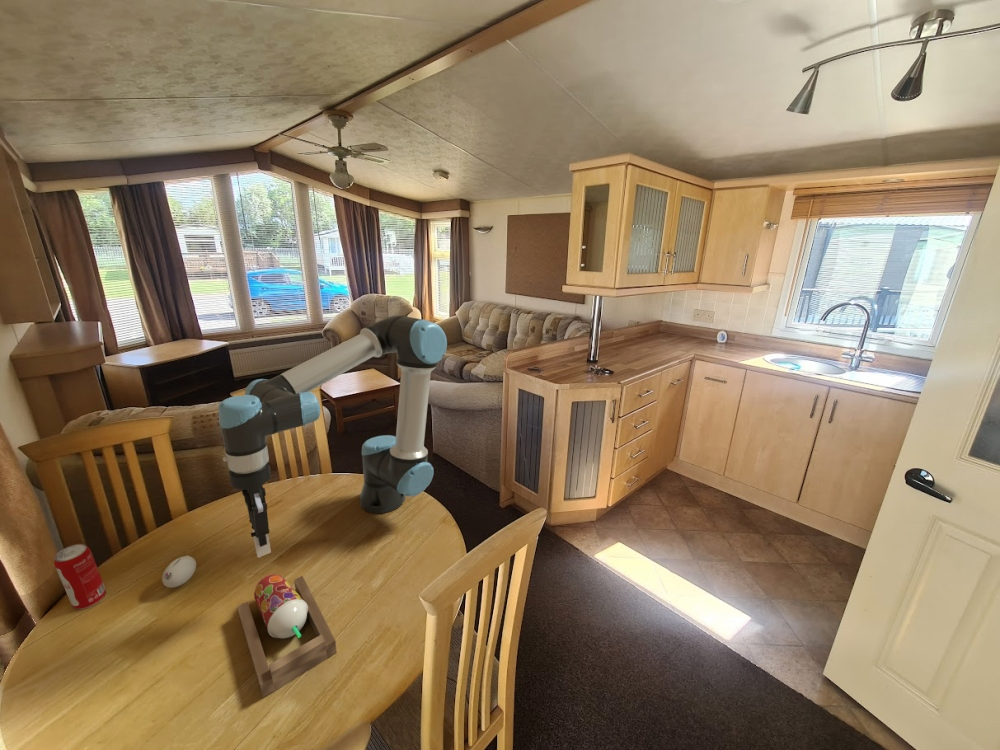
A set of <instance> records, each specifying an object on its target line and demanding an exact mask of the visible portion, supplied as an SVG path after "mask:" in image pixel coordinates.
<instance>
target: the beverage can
mask: <svg viewBox="0 0 1000 750" xmlns="http://www.w3.org/2000/svg"><path fill="white" fill-rule="evenodd" d="M96 563H97V562H96V561H95V558H94V555H93V553H92V551H91V549H90V547H89V546H87V545H86V543H85V544H84V543H77V544H73V545H70V546H67V547H65V548H63V549H62V550H60V551H58V552H57V553H56V554H55V555H54V562H53V564H54V567H55V570H56V572H57V573H58V574H57V575H58V577H59V579H60V581H61V583H62V585H63V588H64V589H65V590H64V591H65V592H66V594H67V597H68V599H69V602H70V603H71V607H72V608H73V609H75V610H84V609H89V608H90V607H93V606H95V605H96V604H99V602H101V601H102V600H103V598H104V597H105V596H106V595H107V589H106V586H105V584H104V581H103V578H102V576H101V574H100V570H99V569H98V566H97V564H96Z"/></svg>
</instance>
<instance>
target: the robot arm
mask: <svg viewBox="0 0 1000 750" xmlns="http://www.w3.org/2000/svg"><path fill="white" fill-rule="evenodd" d="M447 341H448V339H447V336H446V333H445V332H444V330H443V329H442V327H441V326H440V325H438V324H437V323H435V322H431V321H430V320H427V319H421V318H416V317H411V316H407V315H403V314H401V315H392V316H389V317H386V318H383V319H381V320H379V321H376V322H374V323H372V324H369V325H368V326H366V327H364V328H362V329H360V332H359V334H358V335H355V336H353V337H352V338H349V339H348V340H346V341H344V342H341V343H339V344H337V345H336V346H334V347H332V348H330V349H328V350H325V351H323V352H322V353H320V354H317V355H316V356H314V357H312V358H310V359H308V360H306V361H304V362H303V363H300V364H297V365H296V366H294V367H292V368H291V369H288V370H286V371H284V372H282V373H281V374H278V375H277V376H274V377H273V378H272V377H271V378H270V379H265V378H260V379H255V380H252V381H251V382H250V383H249V384H248V385H247V386H246V388H245V391H244V395H234V396H231V397H228V398H225V399H223V400H222V401H221V402H220V403H219V405H218V410H217V412H218V421H219V422H218V424H219V426H220V427H219V428H220V431H221V435H222V440H223V445H224V450H225V456H224V457H223V458H222V460H223V462H227V467H228V469H229V472H228V475H229V479H230V484H231V486H232V488H233V489H235V490H241V494H242V496H243V498H244V504H245V505H246V508H247V513H248V518H249V523H250V524H251V529H252V532H251V533H250V536H251V538H253V541H254V546H255V553H256V556H257V558H258V559H259V558H261V557H263V556H265V555H268V554H270V553H272V550H271V544H270V538H269V534H270V527H269V517H268V503H267V501H266V496H267V493H266V489H265V487H263V486H264V484H267V482H268V481H270V480H271V477H272V474H271V473H272V472H271V467H270V461H269V460H270V458H269V450H268V444H267V441H266V440H267V438H266V437H269V436H272V435H275V434H278V433H281V432H285V431H288V430H289V431H290V430H291V429H296V428H299V427H302V426H303V427H305V426H306V425H308V424H311V423H314V422H316V421H317V420H319V419H320V417H321V406H320V402H319V400H318V397H317V395H316V394H315V393H314V392H312V391H313V390H316V389H317V388H319V387H321V386H323V385H324V384H327V383H328V382H330V381H331V380H333V379H335V378H337V377H339V376H341V375H342V374H344V373H346V372H348V371H350V370H351V369H354V368H355V367H357V366H359V365H360V364H362V363H365V362H366V361H368V360H369V359H371V358H373V357H374V358H380V357H383V356H384V355H386V354H392V353H395V354H397V355H396V365H397V366H398V367H399V369H400V381H399V383H400V384H399V393H398V394H399V395H398V407H397V419H396V420H397V421H396V422H397V423H396V430H395V431H396V433H395V435H389V434H387V435H386V434H385V435H378V436H374V437H371V438H369V439H367V440H365V441H364V442H363V444H362V447H361V458H362V459H361V460H362V471H363V485H362V489H361V491H360V495H359V505H360V507H361V508H362V510H364V511H366V512H367V513H371V514H385V513H390V512H392V511H395V510H397V509H398V508H400V507H401V506H402V505H403V504H404V503H405V501H406V497H408V498H410V497H416V496H418V495H420V494H422V493H423V492H424V491H425V490H426V489H427V487H429V485H430V483H431V482H432V481H433V477H434V471H435V470H434V467H433V465H432V464H431V463H430V462H429V461H428V454H429V451H428V449H427V448H426V447H425V446H424V445H425V436H426V435H425V434H426V425H427V413H428V405H429V404H428V403H429V393H430V384H431V376H432V375H431V372H433V371H434V370H435V369H437V365H438V364H437V363H439V362H440V361H442V359H443V356H445V355H446V353H447V347H448V342H447ZM403 502H404V503H403ZM402 503H403V504H402ZM401 504H402V505H401ZM400 505H401V506H400ZM399 506H400V507H399ZM396 508H397V509H396ZM394 509H395V510H394Z"/></svg>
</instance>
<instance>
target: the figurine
mask: <svg viewBox="0 0 1000 750" xmlns="http://www.w3.org/2000/svg"><path fill="white" fill-rule="evenodd" d="M196 569H197V562H196V560H195V558H194V557H193V556H189V555H188V554H186V555H185V556H180V557H178V558H176V559H174V560H173V561H172V562H171V563H169V564H168V565H167V567H165V568H164V571H163V572H162V576H161V581H162V584H163V586H165V587H167V588H177V587H181V586H182V585H184V584H185V583H187V582H188V581H189V580H190V579H191V578H192V577H193V575H194V573H195V572H196Z"/></svg>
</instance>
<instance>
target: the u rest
mask: <svg viewBox="0 0 1000 750" xmlns="http://www.w3.org/2000/svg"><path fill="white" fill-rule="evenodd" d="M293 581H294V588H295V589H294V590H295V591H296V592H297V593H298V594H299V596H300V597H301V598H302V599H303V600H304V601H305V602H306V603H307V605H308V613H307V619H308V620H309V623H310V625H311V627H312V629H313V631H314V633H315V637H314V638H313V639H311V640H309V641H307V642H305V643H303V644H302V645H301V646H299V647H297V648H295V649H294V650H292V651H290V652H289V653H287V654H285V655H284V656H281V657H280V658H277V659H276V660H274V661H273V662H271V663H270V664H269V663H268V661H267V658H266V655H265V652H264V649H263V645H262V642H261V639H260V635H259V633H258V630H257V627H256V624H255V620H254V617H253V615H252V611H251V608H250V605H249V601H246V602H244V603H241V604H239V605H237V610H238V616H239V619H240V622H241V627H242V630H243V633H244V637H245V641H246V644H247V648H248V650H249V651H248V652H249V655H250V658H251V662H252V665H253V669H254V672H255V675H256V679H257V681H258V686H259V689H260V693H261V696H262V699H265V698H266V697H268V696H269V695H271V694H273V693H274V692H276V691H277V690H279V689H281V688H282V687H284V686H286V685H287V684H289V683H290V682H292V681H294V680H295V679H297V678H298V677H300V676H302V675H304V674H305V673H306V672H308V671H310V670H311V669H312V668H315V667H316V666H318V665H319V664H321V663H322V662H325V660H327V659H329V658H330V657H332V656H334V655H336V654H337V652H338V651H337V643H336V638H335V637H334V635H333V633H332V631H331V630H330V628H329V625H328V623H327V621H326V619H325V618H324V615H323V613H322V611H321V609H320V607H319V605H318V603H317V601H316V600H315V598H314V596H313V593H312V592H311V589H310V588H309V586H308V584H307V582H306V580H305V578H304V576H303V575H302V576H299V577H297V578H295V579H294V580H293Z"/></svg>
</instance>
